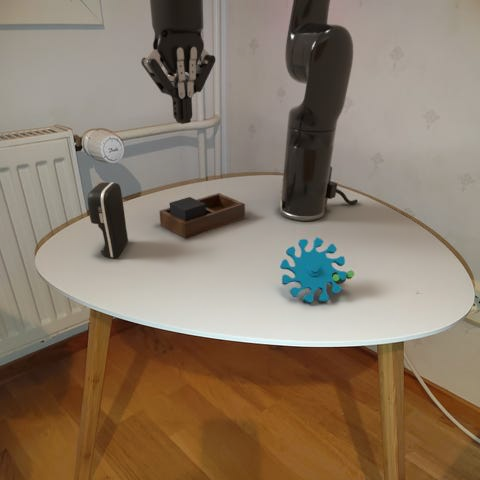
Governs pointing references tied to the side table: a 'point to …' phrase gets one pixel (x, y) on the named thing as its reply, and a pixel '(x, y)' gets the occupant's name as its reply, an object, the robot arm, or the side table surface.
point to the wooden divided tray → (205, 216)
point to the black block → (187, 209)
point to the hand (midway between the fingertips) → (183, 122)
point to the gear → (315, 270)
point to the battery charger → (109, 216)
